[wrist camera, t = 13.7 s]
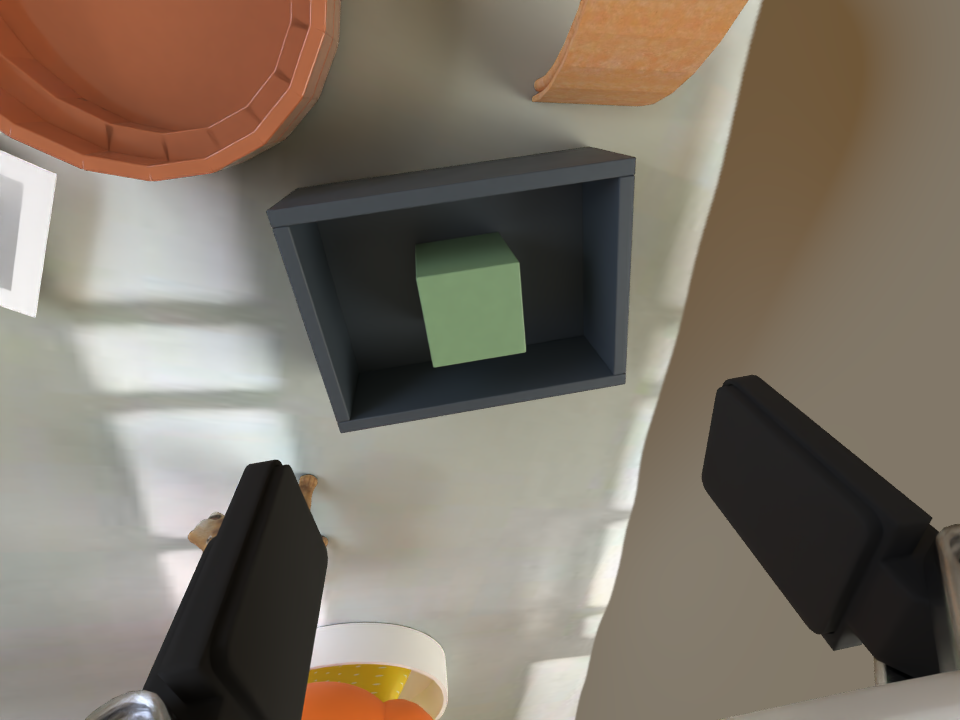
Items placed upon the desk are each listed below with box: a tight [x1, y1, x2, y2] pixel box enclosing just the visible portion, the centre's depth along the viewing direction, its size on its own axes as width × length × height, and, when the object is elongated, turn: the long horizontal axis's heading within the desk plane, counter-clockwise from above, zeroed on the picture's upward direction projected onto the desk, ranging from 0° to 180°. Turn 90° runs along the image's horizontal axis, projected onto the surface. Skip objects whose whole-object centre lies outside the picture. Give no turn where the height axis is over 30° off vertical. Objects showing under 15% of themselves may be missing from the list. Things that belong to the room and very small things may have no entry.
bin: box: [266, 147, 636, 433], centre depth 24 cm, size 11×15×6 cm
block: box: [415, 232, 526, 367], centre depth 24 cm, size 5×5×6 cm
